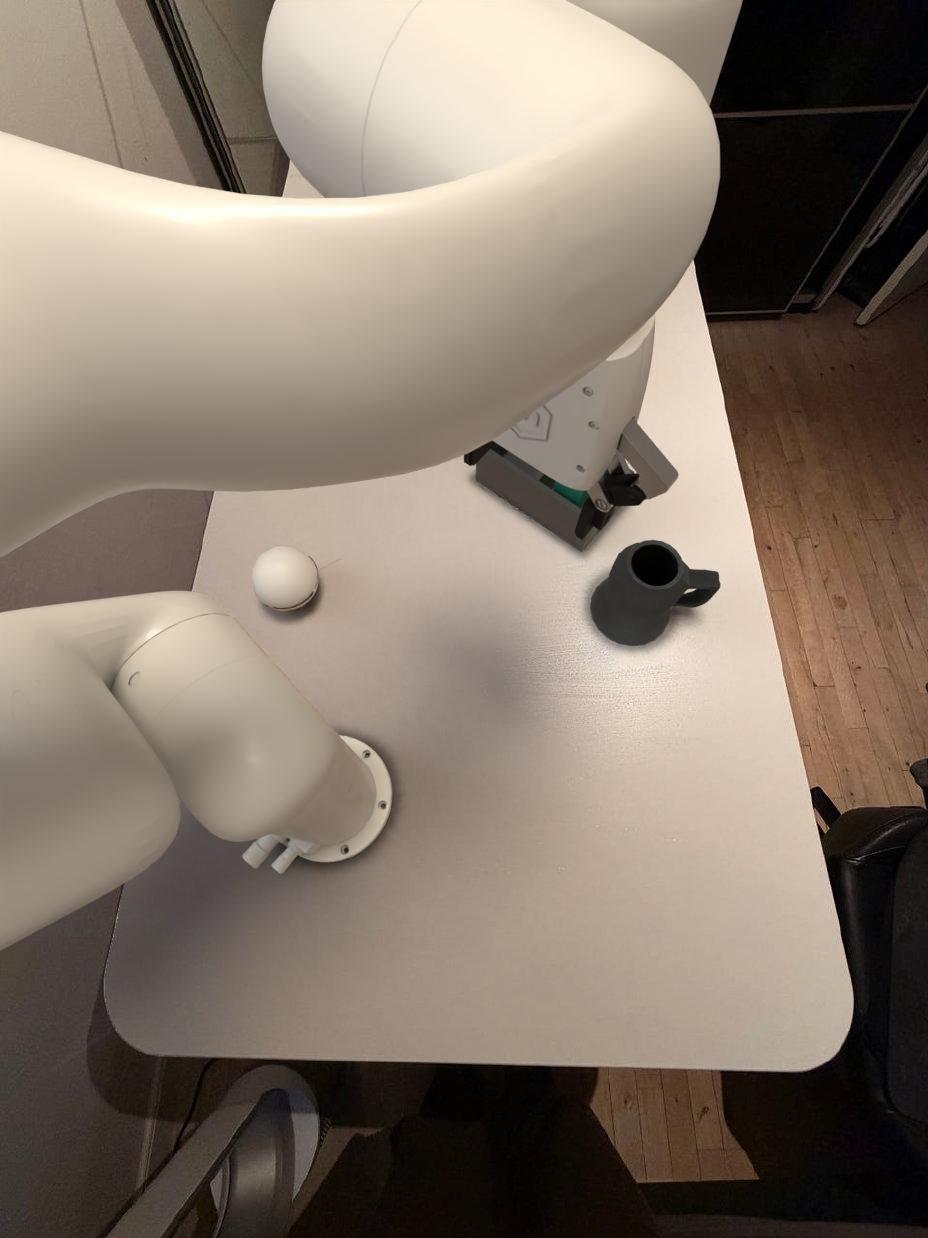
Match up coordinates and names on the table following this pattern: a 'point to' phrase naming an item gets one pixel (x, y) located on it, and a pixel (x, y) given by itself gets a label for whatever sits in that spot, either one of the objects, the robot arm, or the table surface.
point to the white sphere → (285, 578)
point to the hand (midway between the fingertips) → (534, 487)
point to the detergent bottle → (573, 493)
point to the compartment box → (532, 493)
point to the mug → (647, 592)
